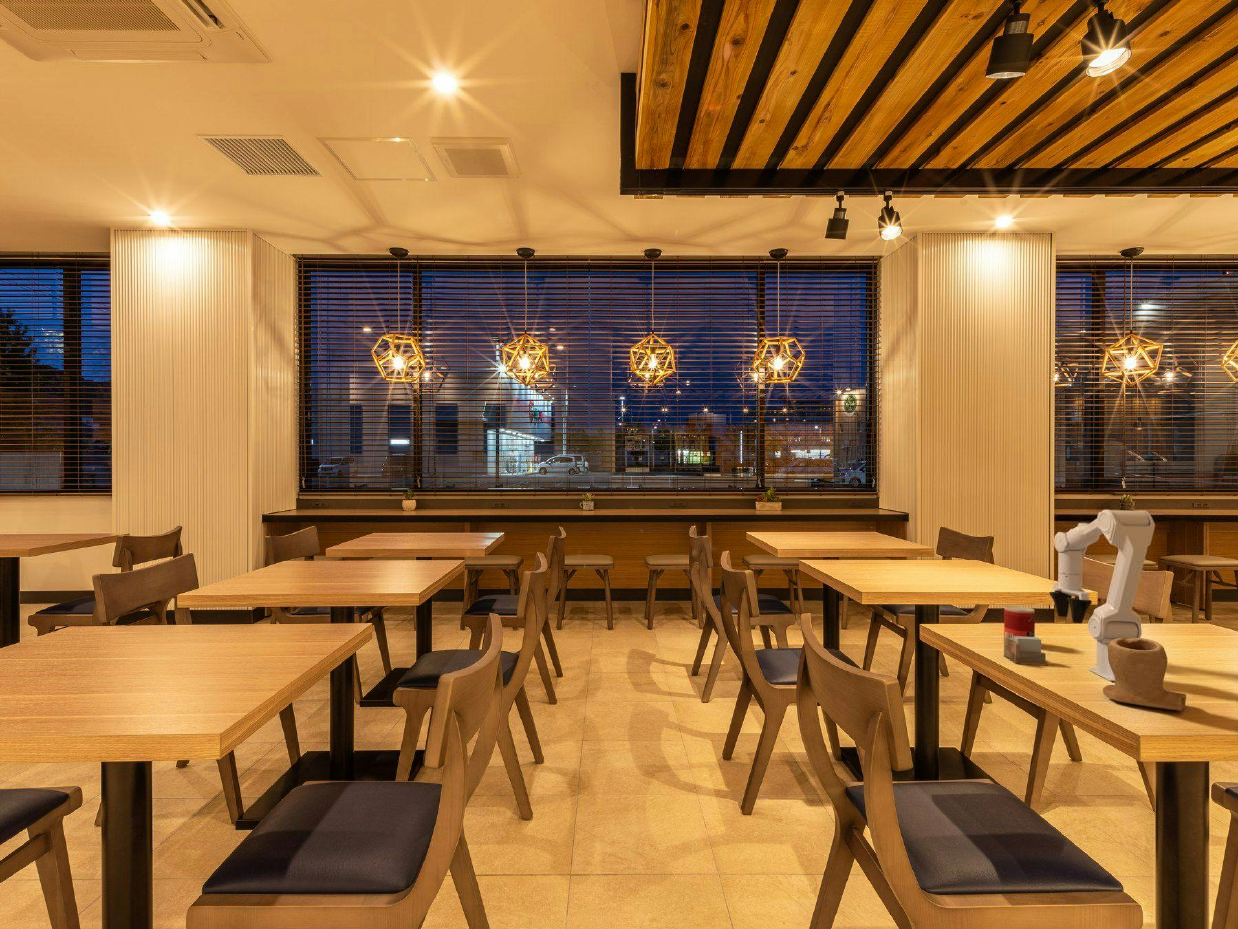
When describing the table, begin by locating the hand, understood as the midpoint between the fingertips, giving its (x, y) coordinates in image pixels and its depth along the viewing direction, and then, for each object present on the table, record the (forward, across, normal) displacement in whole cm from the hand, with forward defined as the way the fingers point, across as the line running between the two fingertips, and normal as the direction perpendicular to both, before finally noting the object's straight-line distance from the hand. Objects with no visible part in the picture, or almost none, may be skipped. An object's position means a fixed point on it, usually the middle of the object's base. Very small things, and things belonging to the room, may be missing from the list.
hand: (1069, 619), depth 180 cm
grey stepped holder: (+10, +10, -17) cm, 22 cm away
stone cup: (+10, +41, -6) cm, 43 cm away
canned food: (+10, -8, -10) cm, 16 cm away
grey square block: (+9, +10, -16) cm, 22 cm away
